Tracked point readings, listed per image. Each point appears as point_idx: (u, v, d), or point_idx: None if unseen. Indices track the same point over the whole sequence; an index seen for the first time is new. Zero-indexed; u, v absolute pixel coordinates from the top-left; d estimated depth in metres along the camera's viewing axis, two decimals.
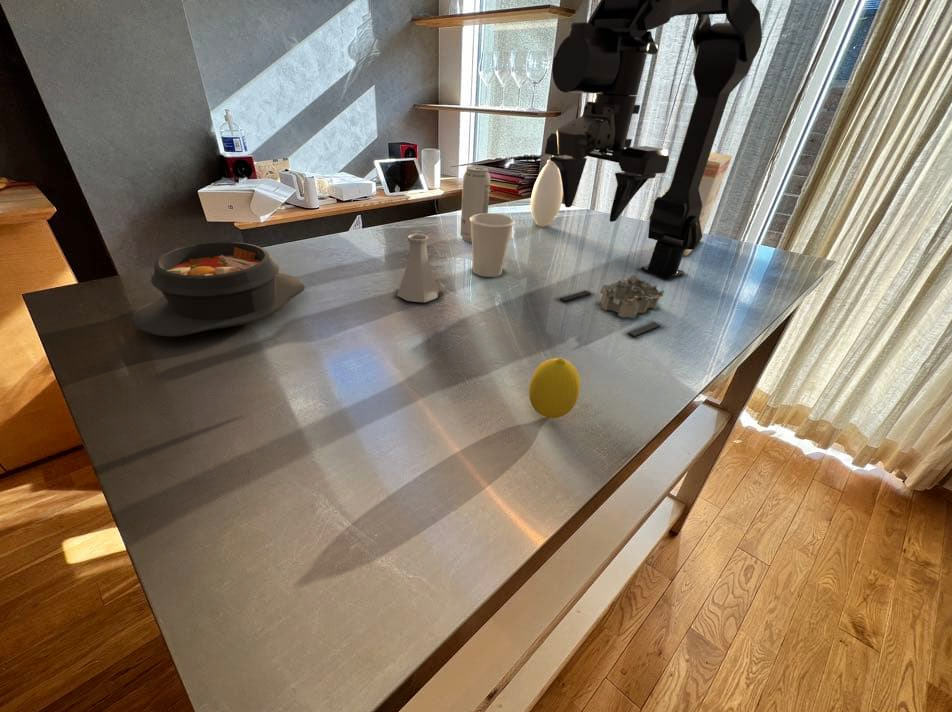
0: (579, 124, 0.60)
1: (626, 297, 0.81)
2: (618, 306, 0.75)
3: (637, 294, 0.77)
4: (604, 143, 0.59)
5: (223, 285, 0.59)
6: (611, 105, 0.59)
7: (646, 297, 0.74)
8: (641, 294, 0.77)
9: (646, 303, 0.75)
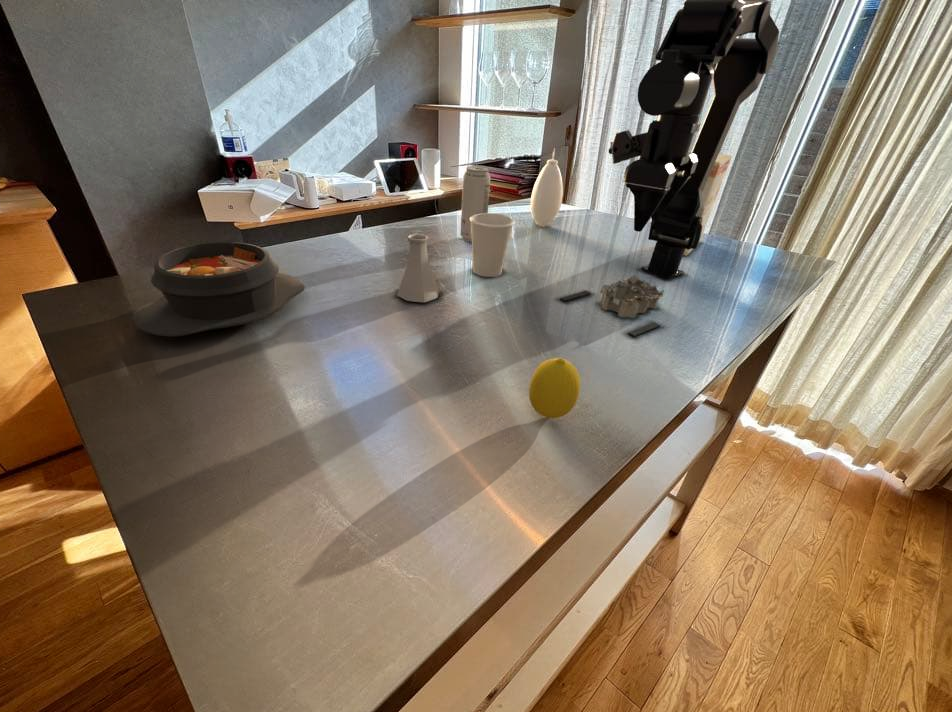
0: None
1: (626, 297, 0.81)
2: (618, 306, 0.75)
3: (637, 294, 0.77)
4: (622, 151, 0.67)
5: (223, 285, 0.59)
6: (653, 121, 0.65)
7: (646, 297, 0.74)
8: (641, 294, 0.77)
9: (646, 303, 0.75)
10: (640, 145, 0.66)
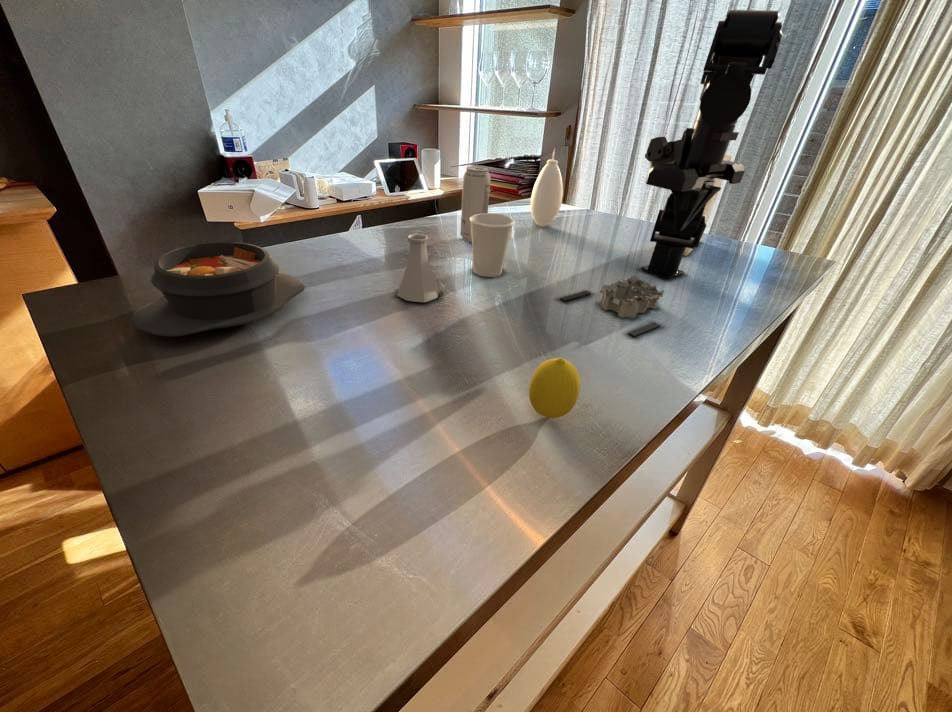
0: None
1: (626, 297, 0.81)
2: (618, 306, 0.76)
3: (637, 294, 0.77)
4: (655, 156, 0.70)
5: (223, 285, 0.59)
6: None
7: (646, 297, 0.74)
8: (641, 294, 0.77)
9: (646, 303, 0.75)
10: (673, 151, 0.69)
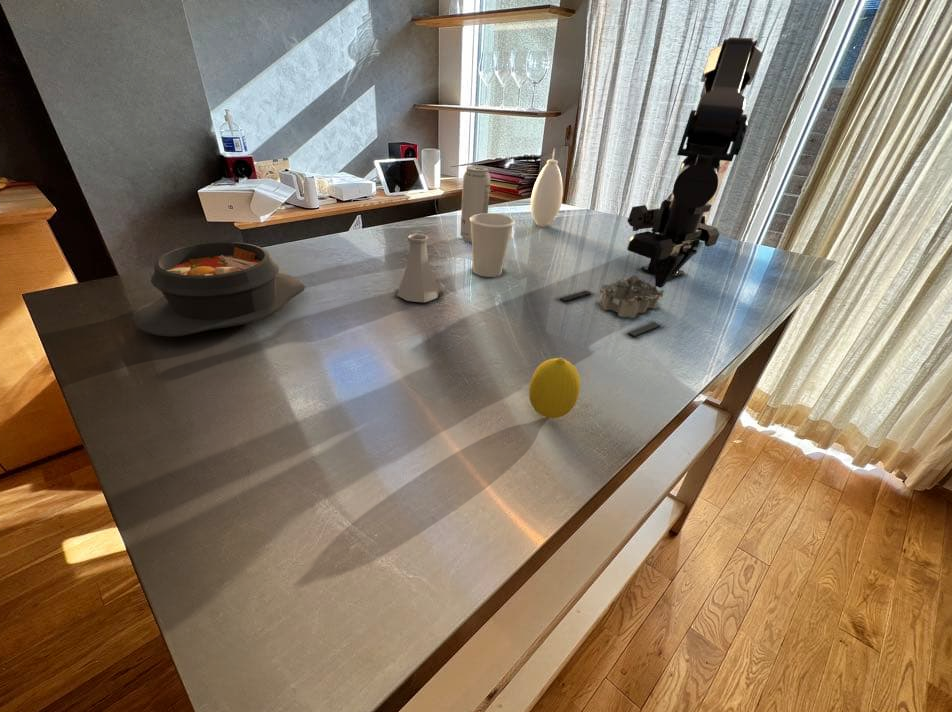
0: (653, 209, 0.78)
1: (626, 297, 0.81)
2: (618, 306, 0.76)
3: (637, 293, 0.77)
4: (636, 222, 0.77)
5: (223, 285, 0.59)
6: (665, 200, 0.74)
7: (646, 297, 0.74)
8: (641, 294, 0.77)
9: (646, 303, 0.75)
10: (653, 219, 0.76)
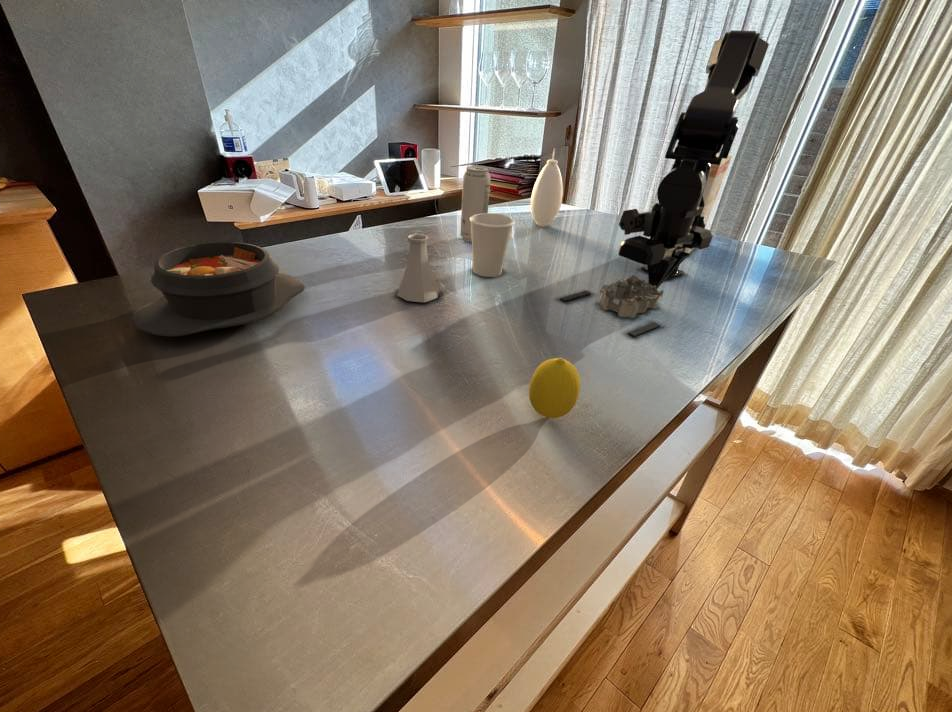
0: (644, 212, 0.77)
1: (626, 297, 0.81)
2: (617, 306, 0.76)
3: (637, 293, 0.77)
4: (628, 226, 0.76)
5: (223, 285, 0.59)
6: None
7: (646, 297, 0.74)
8: (641, 294, 0.77)
9: (646, 303, 0.75)
10: (644, 222, 0.75)
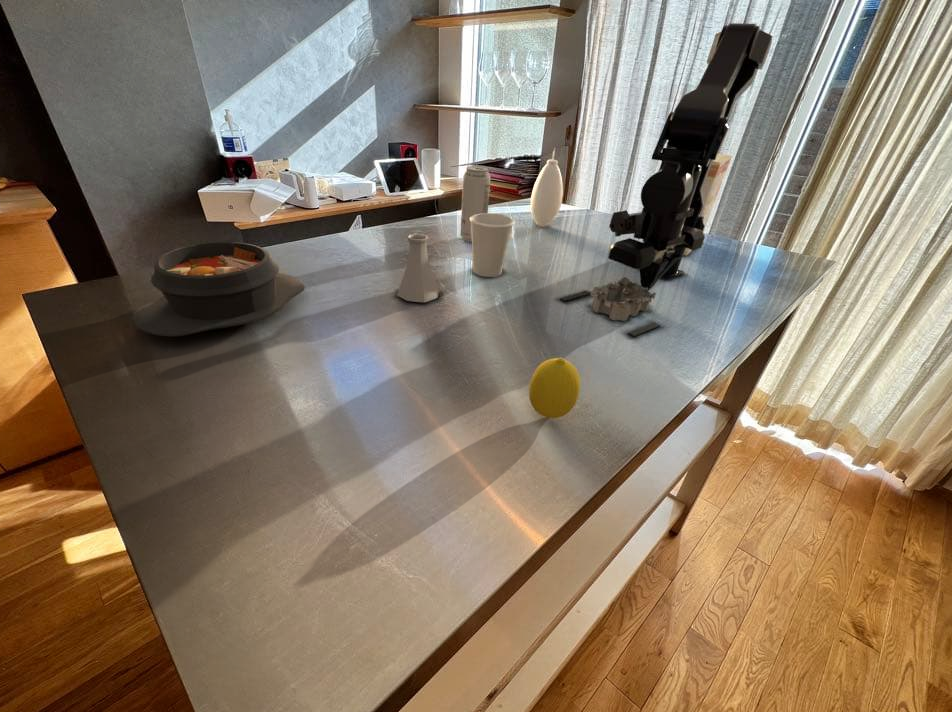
0: (635, 213, 0.76)
1: (618, 299, 0.80)
2: (609, 308, 0.74)
3: (629, 296, 0.76)
4: (618, 229, 0.74)
5: (223, 285, 0.59)
6: None
7: (637, 299, 0.73)
8: (632, 296, 0.76)
9: (637, 305, 0.74)
10: (635, 224, 0.73)
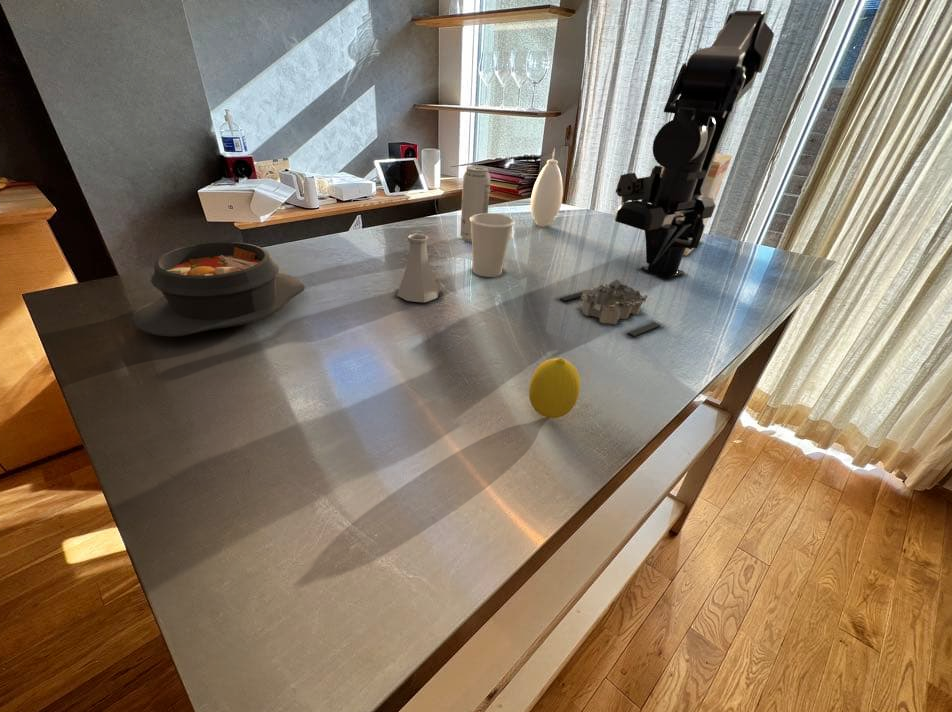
0: None
1: (609, 302, 0.79)
2: (599, 311, 0.73)
3: (620, 299, 0.75)
4: (625, 192, 0.70)
5: (223, 285, 0.59)
6: (656, 166, 0.68)
7: (628, 302, 0.72)
8: (623, 299, 0.75)
9: (628, 309, 0.73)
10: (643, 187, 0.69)
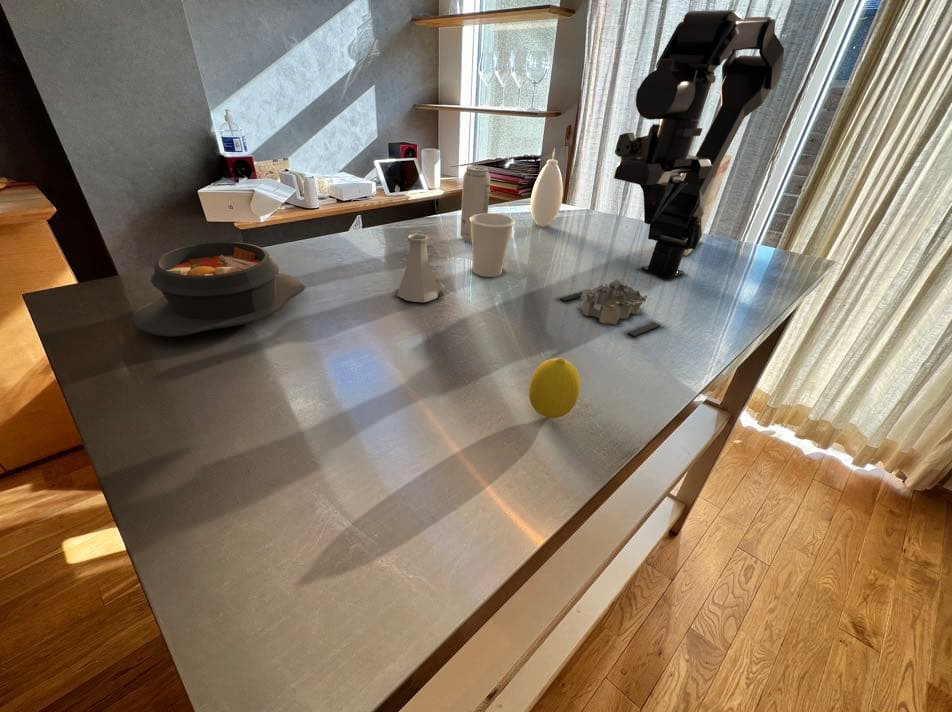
0: None
1: (609, 302, 0.79)
2: (599, 311, 0.73)
3: (619, 299, 0.75)
4: (624, 152, 0.73)
5: (223, 285, 0.59)
6: None
7: (628, 302, 0.72)
8: (623, 299, 0.75)
9: (628, 309, 0.73)
10: (641, 147, 0.72)
